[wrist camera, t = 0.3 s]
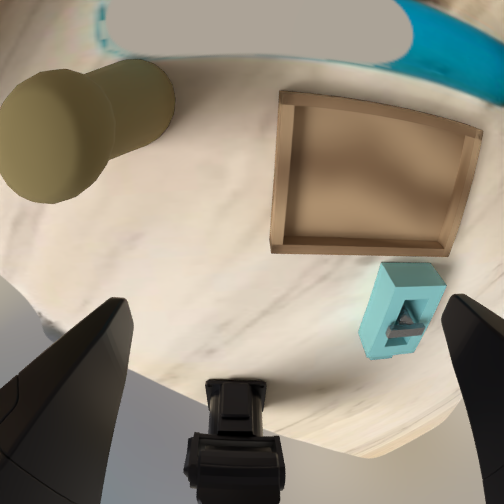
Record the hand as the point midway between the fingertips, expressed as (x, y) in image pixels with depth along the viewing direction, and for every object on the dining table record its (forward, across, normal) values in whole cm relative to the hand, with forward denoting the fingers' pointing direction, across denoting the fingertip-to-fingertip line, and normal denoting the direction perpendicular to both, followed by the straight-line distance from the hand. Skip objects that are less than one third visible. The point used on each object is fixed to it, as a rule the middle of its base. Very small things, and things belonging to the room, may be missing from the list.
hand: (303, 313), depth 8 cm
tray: (+14, -8, +1) cm, 16 cm away
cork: (+14, +9, -4) cm, 17 cm away
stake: (+14, -12, +12) cm, 22 cm away
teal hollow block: (+14, -12, +12) cm, 22 cm away
